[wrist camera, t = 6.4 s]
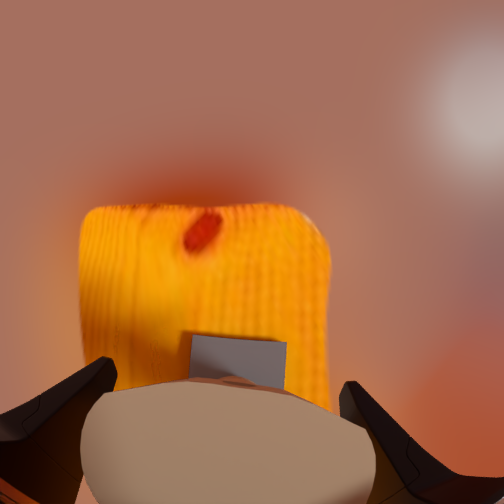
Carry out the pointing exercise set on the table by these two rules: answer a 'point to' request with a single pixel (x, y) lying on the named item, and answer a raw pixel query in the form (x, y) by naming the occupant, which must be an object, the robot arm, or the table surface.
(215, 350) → the plate
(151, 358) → the table surface
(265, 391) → the handle
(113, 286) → the table surface
